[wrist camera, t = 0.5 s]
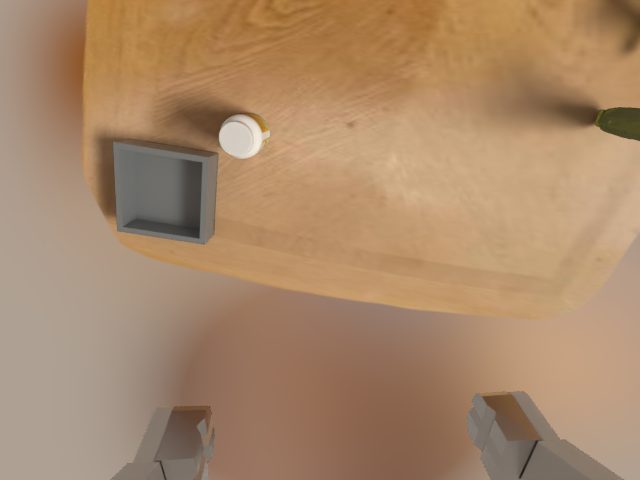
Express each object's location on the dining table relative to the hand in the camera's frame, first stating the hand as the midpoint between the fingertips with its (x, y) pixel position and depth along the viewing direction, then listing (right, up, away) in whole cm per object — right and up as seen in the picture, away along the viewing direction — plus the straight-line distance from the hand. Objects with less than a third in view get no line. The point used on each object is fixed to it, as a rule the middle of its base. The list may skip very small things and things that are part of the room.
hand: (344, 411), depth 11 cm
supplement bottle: (-11, +21, +40) cm, 46 cm away
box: (-23, +13, +43) cm, 50 cm away
